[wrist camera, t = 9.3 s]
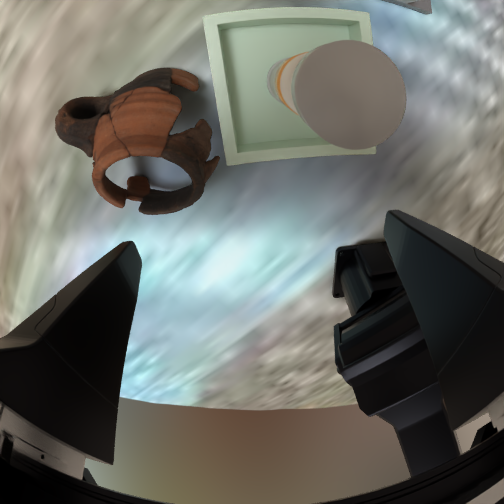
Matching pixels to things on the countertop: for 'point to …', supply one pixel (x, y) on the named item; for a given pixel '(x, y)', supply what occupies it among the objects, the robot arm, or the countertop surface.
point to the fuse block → (414, 5)
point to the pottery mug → (140, 138)
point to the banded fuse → (342, 92)
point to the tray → (255, 73)
